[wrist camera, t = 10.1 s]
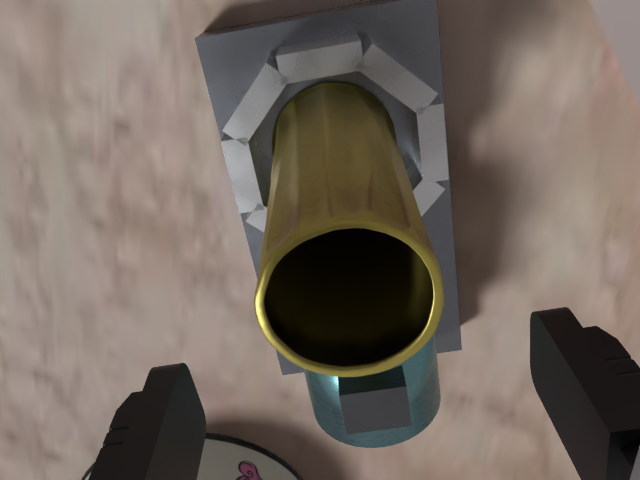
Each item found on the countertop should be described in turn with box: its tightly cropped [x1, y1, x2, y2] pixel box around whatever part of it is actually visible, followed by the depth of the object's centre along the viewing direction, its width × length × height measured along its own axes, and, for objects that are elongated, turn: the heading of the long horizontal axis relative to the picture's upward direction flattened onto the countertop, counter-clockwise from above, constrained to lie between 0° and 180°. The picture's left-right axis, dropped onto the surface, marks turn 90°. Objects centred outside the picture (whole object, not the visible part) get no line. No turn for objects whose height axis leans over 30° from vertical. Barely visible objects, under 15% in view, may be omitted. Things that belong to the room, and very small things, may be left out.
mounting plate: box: [195, 0, 462, 448], centre depth 27 cm, size 20×11×10 cm, turn 10°
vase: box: [254, 83, 444, 377], centre depth 22 cm, size 6×6×14 cm
